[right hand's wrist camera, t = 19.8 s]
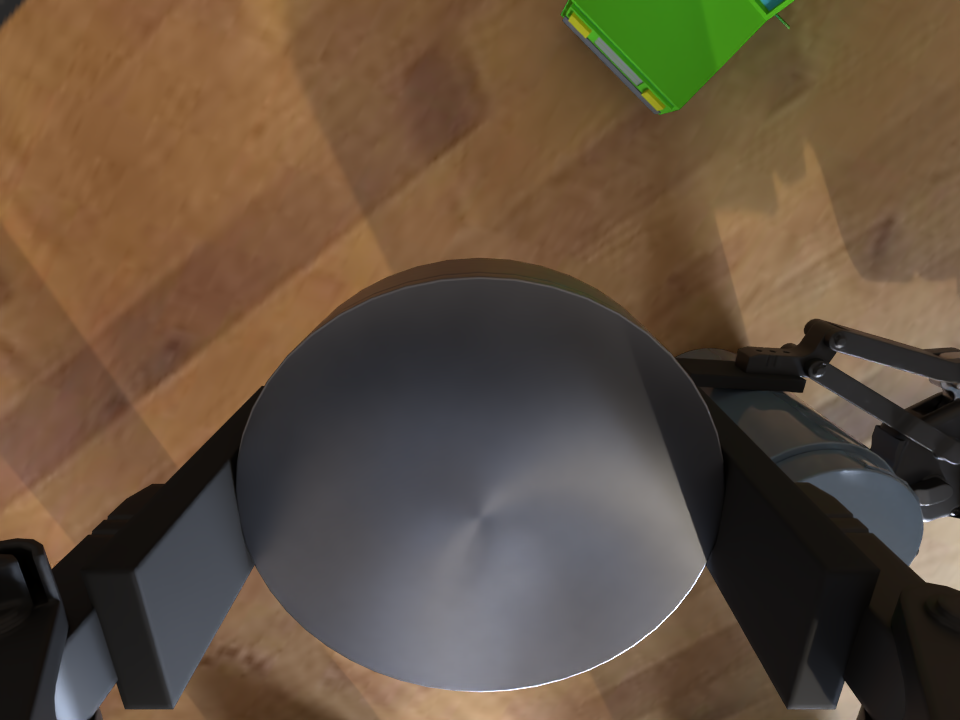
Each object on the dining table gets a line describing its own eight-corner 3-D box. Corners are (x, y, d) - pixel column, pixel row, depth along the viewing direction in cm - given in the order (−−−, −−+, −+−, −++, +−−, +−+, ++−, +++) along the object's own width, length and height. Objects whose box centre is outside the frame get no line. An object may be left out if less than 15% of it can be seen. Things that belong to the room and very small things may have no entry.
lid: (385, 164, 10) (364, 164, 8) (777, 394, 12) (832, 437, 10) (211, 528, 13) (167, 588, 11) (545, 672, 15) (554, 745, 13)
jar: (728, 470, 40) (865, 637, 26) (621, 440, 39) (702, 595, 25) (784, 367, 37) (972, 491, 23) (670, 332, 36) (793, 438, 22)
